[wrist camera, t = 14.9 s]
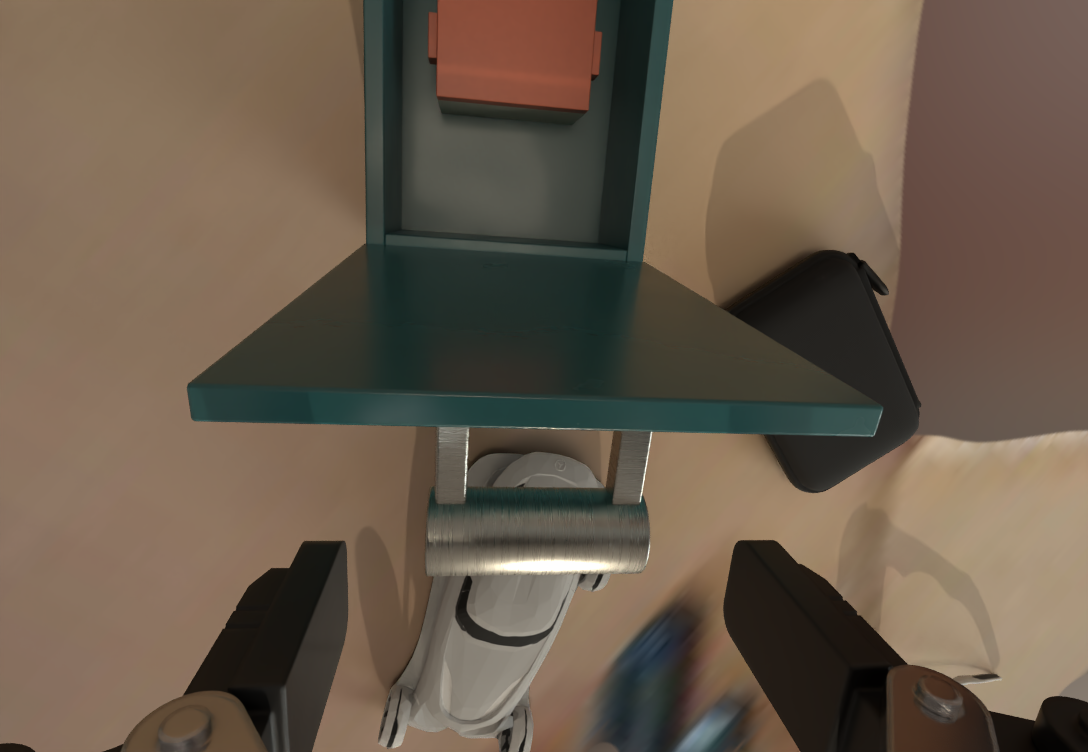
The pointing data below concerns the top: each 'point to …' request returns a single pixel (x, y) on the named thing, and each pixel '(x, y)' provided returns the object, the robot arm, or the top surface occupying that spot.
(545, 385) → the tin lid
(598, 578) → the car model
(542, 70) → the snack box
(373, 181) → the lunch tin
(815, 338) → the carrying case
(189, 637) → the top surface
